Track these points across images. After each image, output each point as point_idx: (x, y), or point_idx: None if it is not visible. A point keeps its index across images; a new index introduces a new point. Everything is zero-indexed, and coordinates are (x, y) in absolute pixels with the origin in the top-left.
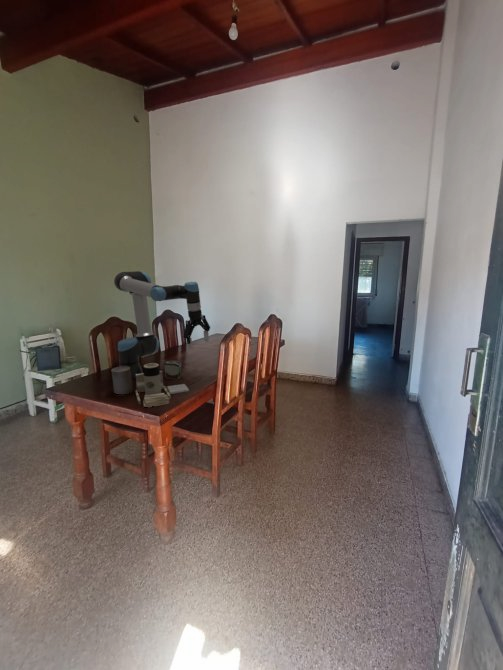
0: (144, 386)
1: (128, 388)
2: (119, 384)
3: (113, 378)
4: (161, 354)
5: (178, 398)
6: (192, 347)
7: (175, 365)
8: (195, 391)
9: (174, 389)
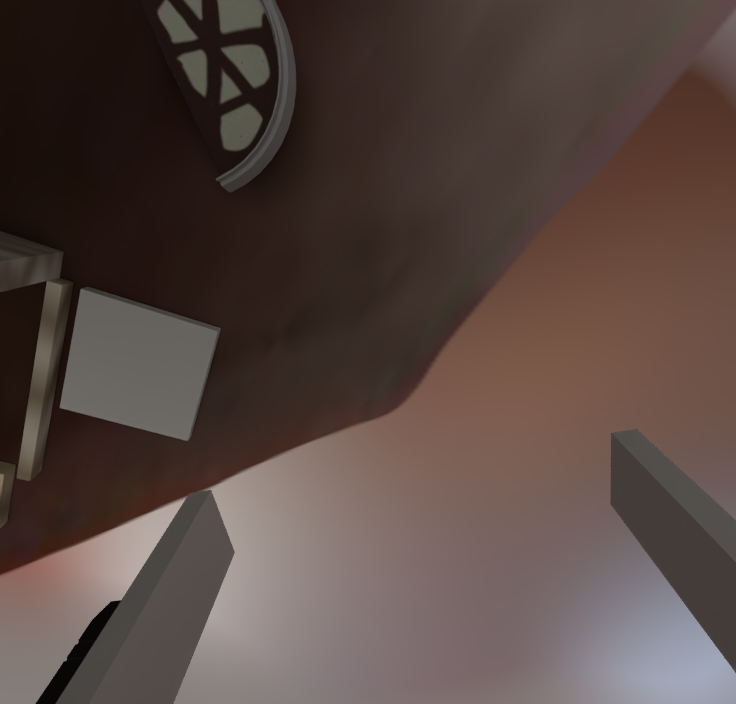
0: None
1: None
2: None
3: None
4: None
5: (84, 490)
6: (222, 571)
7: (200, 131)
8: (222, 464)
9: (105, 381)
